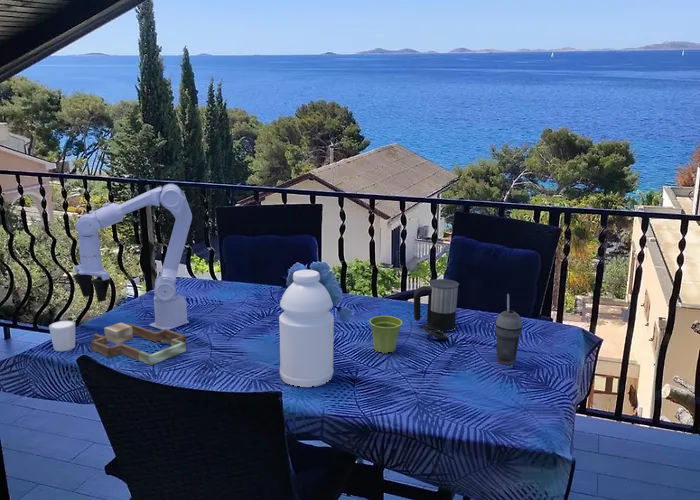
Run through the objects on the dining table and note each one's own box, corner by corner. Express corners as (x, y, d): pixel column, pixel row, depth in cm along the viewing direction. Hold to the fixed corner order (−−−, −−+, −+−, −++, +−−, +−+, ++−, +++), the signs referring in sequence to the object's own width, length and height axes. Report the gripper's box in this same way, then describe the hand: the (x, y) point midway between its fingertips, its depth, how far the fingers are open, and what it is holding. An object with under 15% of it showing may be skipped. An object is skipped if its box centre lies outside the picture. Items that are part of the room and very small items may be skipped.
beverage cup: (504, 372, 166) (510, 301, 161) (486, 362, 172) (491, 293, 167) (525, 367, 169) (531, 297, 164) (506, 357, 175) (512, 289, 171)
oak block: (121, 334, 189) (120, 322, 188) (133, 339, 186) (132, 326, 185) (105, 340, 184) (104, 327, 183) (116, 344, 181) (115, 331, 180)
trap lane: (138, 327, 194) (138, 319, 194) (195, 347, 180) (195, 339, 179) (82, 346, 179) (82, 338, 179) (139, 369, 165) (139, 361, 164)
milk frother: (448, 321, 203) (450, 277, 200) (472, 339, 189) (475, 292, 185) (408, 325, 199) (409, 281, 195) (429, 344, 184) (431, 296, 181)
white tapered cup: (67, 353, 175) (65, 329, 173) (46, 351, 176) (43, 327, 174) (82, 343, 181) (80, 321, 179) (61, 341, 182) (59, 319, 181)
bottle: (312, 393, 153) (312, 284, 146) (268, 379, 160) (266, 274, 153) (343, 372, 165) (344, 270, 158) (301, 360, 172) (300, 262, 165)
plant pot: (405, 346, 182) (407, 318, 180) (394, 358, 174) (395, 329, 172) (376, 341, 186) (376, 313, 184) (363, 352, 178) (364, 324, 176)
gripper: (63, 253, 186) (68, 297, 189) (92, 261, 178) (96, 306, 181) (85, 249, 192) (89, 291, 195) (114, 256, 183) (117, 300, 187)
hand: (94, 298), depth 188 cm, fingers open, 7 cm apart
